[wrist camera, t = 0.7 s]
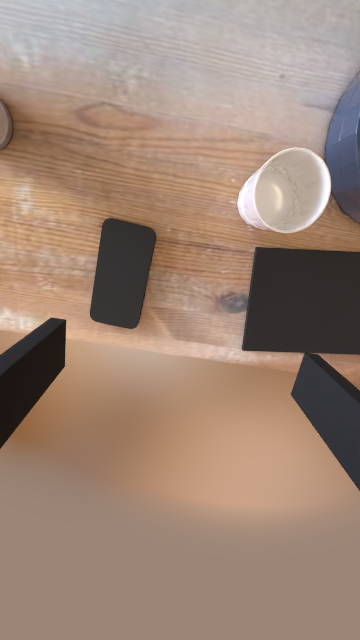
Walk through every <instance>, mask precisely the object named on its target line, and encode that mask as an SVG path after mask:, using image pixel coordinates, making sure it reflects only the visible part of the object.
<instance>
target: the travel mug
mask: <svg viewBox="0 0 360 640" xmlns="http://www.w3.org/2000/svg"><path fill="white" fill-rule="evenodd" d="M11 135H12V120H11V117H10V114H9V112H8V110H7V108H6V107H5V105H4V104H3V103H2V101H1V100H0V149H2V148H4V147H5V146H6V145H7V144H8V142H9V140H10V138H11Z"/></svg>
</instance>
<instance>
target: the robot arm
mask: <svg viewBox="0 0 360 640" xmlns="http://www.w3.org/2000/svg"><path fill="white" fill-rule="evenodd" d="M65 341H66V320H64V319H57V318H50V319H49V320H47V321H46V322H45V323H43V324H42V325H40V326H39V327H38V328H36V329H35V330H34V331H32V332H31V333H30V334H28V335H27V336H25V337H24V338H23V339H21V340H20V341H19V342H17V343H16V344H15V345H13V346H12V347H11V348H9V349H8V350H6V351H5V352H4V353H3V354H1V355H0V448H1V447H2V446H3V444H4V443H5V442H6V441H7V440H8V438H9V437H10V436H11V434H12V433H13V432H14V431H15V429H16V428H17V427H18V425H19V424H20V423H21V422H22V420H23V419H24V418H25V417H26V415H27V414H28V413H29V411H30V410H31V409H32V408H33V406H34V405H35V404H36V402H37V401H38V400H39V399H40V397H41V396H42V395H43V394H44V392H45V391H46V390H47V388H48V387H49V386H50V384H51V383H52V382H53V381H54V379H55V378H56V377H57V375H58V374H59V373H60V372H61V371H62V369H63V368H64V367H65ZM291 396H292V397H293V398H294V400H295V401H296V403H297V404H298V405H299V407H300V408H301V410H302V411H303V412H304V414H305V415H306V417H307V418H308V419H309V421H310V422H311V423H312V425H313V426H314V428H315V429H316V431H317V432H318V433H319V435H320V436H321V438H322V439H323V440H324V442H325V443H326V444H327V446H328V447H329V449H330V450H331V451H332V453H333V454H334V456H335V457H336V458H337V460H338V461H339V463H340V464H341V465H342V467H343V468H344V470H345V471H346V472H347V474H348V475H349V477H350V478H351V479H352V481H353V482H354V483H355V485H356V486H357V488H358V489H359V491H360V391H359V390H358V389H357V388H356V387H355V386H354V385H352V384H351V383H350V382H349V381H348V380H347V379H346V378H344V377H343V376H342V375H341V374H340V373H339V372H337V371H336V370H335V369H334V368H333V367H332V366H331V365H329V364H328V363H327V362H326V361H325V360H324V359H322V358H321V357H320V356H319V355H318V354H311V353H305V354H304V357H303V360H302V363H301V366H300V369H299V372H298V375H297V378H296V380H295V384H294V386H293V389H292V392H291Z"/></svg>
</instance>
